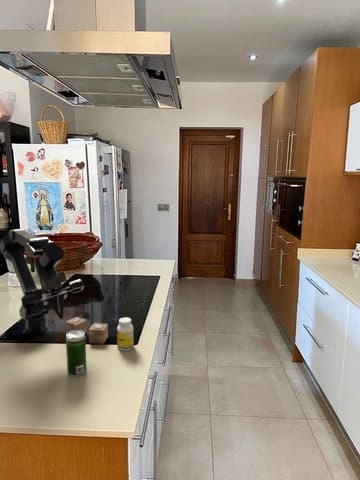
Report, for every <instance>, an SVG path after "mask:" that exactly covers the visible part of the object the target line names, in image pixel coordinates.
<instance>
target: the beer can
mask: <svg viewBox="0 0 360 480" xmlns="http://www.w3.org/2000/svg"><path fill="white" fill-rule="evenodd" d="M85 334H86V333H85ZM85 334H84V332H83V331H81V330H73V331H70V332H68V333H67V334H66V337H65V346H66V347H65V350H66V366H67V367H66V368H67V369H66V370H67V374H68V375H69V376H70V377H75V378H76V377H78V378H79V377H81V376H82V375H84V374H85V373H86V372H87V367H88V366H87V348H86V347H87V346H86V342H87V341H86V335H85Z"/></svg>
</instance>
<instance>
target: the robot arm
mask: <svg viewBox="0 0 360 480" xmlns="http://www.w3.org/2000/svg"><path fill="white" fill-rule="evenodd" d="M0 252H1V254H3V257H4V258H5V259H6V260H7V261H9V262H10V263H11V265H12V266H13V267H12V268H13V269H14V272H15V275H16V278H17V280H18V283H19V286H20V289H21V291H22V293H23V296H22V297H21V299H20V301H21V305H20V307H19V310H18V312H19V316H20V318H22V319H23V320H24V326H25V327H24V328H25V329H24V330H22V331H21V334H22V333H23V334H27V335H31V336H35V337H36V336H39V335H40V334H41V333H43V332H45V331H47V330H49V327H48V326H47V323H46V318H45V315H46V314H48V315H49V311H50V310H52V311H53V312H54V314H55V315H56V316H57V317H58V318H59V320H63V319H64V301H65V299H67V297H68V293H69V292H71V293H73V294H76V293H79V292H81V291H83V290H84V288H85V284H84V281H83V279H81V278H79V279H75V280H73V281H70V282H69V285H66V286H63V283H65V282H67V280H68V279H67V276H66V273H65V271H64V270H63V271H59V272H57V268H56V266H57V265H58V264H59V263H60V262H61V261H62V260H63V258H64V257H65V251H64V249H63V248H62V247H61V246H59V245H58V244H56V243H55V241H51V240H50V239H49V238H48V237H47V236H36V235H34V234H32V233H30V232H28V231H26V229H24V228H15V229H11V230H9V231H8V234H6V235H5V236H4V237H2V238H1V240H0ZM25 253H26V254H27V255H28V256H29V257H36V258H34V261H33V264H32V265H33V267H34V268H35V271H36V275H37V277H38V281H39V284H40V287H41V288H38V287H37V285H36V282H35V280H34V278H33V275H32V272H31V270H30V268H29V265H28V263H27V259H26V258H25ZM55 296H56V297H57V298H56V299H57V303H58V304H57V303H56V302H55V299H54V297H55ZM57 305H58V306H57Z"/></svg>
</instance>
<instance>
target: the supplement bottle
mask: <svg viewBox="0 0 360 480" xmlns="http://www.w3.org/2000/svg"><path fill="white" fill-rule="evenodd" d="M134 335H135V334H134V325H133V324H132V319H131V318H130V317H127V316H125V317H121V318H119V320H118V325H117V328H116V337H117V338H116V345H117V349H118V350H120V351H129V350H132V349H133V348H134V344H135V343H134V342H135V341H134Z"/></svg>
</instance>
